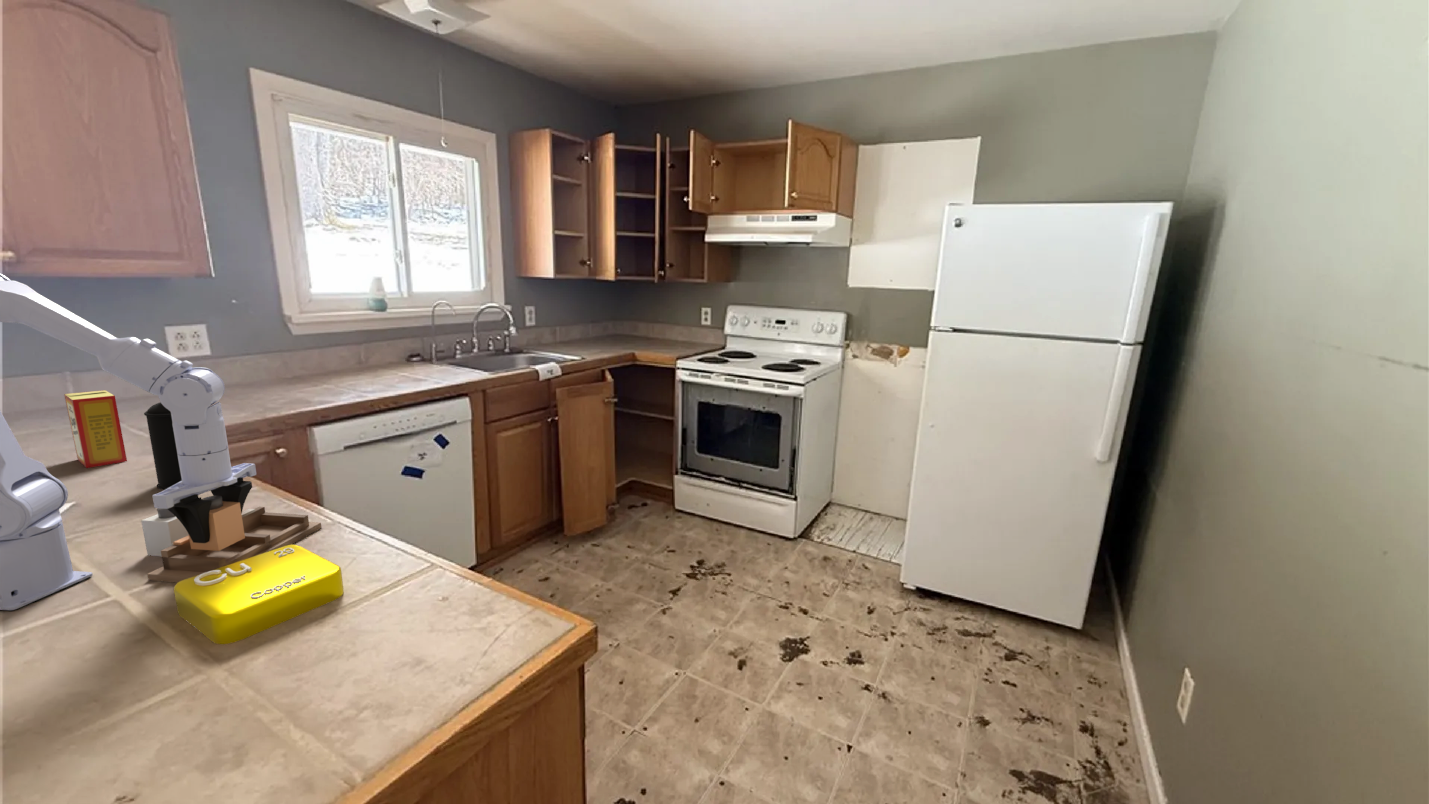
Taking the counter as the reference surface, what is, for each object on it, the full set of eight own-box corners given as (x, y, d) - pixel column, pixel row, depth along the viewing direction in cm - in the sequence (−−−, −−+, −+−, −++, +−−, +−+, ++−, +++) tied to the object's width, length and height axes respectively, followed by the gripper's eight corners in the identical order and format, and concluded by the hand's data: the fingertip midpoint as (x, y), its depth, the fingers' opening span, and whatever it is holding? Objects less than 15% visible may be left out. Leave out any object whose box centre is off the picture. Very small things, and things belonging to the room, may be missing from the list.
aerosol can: (147, 491, 116) (129, 394, 112) (172, 477, 124) (157, 387, 120) (195, 488, 118) (180, 394, 114) (217, 475, 126) (204, 386, 122)
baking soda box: (127, 461, 133) (114, 394, 130) (86, 468, 128) (72, 398, 124) (117, 453, 138) (104, 388, 135) (77, 459, 133) (63, 392, 130)
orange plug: (218, 550, 86) (211, 504, 85) (191, 549, 86) (183, 503, 85) (245, 537, 91) (238, 493, 89) (218, 536, 91) (211, 492, 89)
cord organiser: (218, 585, 83) (214, 557, 82) (148, 580, 84) (143, 552, 83) (321, 527, 102) (318, 504, 102) (263, 523, 103) (260, 500, 102)
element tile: (221, 651, 70) (215, 616, 69) (173, 612, 77) (166, 580, 76) (350, 596, 82) (346, 565, 81) (298, 567, 90) (294, 538, 89)
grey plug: (173, 557, 91) (166, 513, 89) (147, 555, 91) (139, 512, 89) (201, 544, 95) (194, 502, 93) (175, 542, 95) (168, 501, 94)
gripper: (180, 467, 78) (195, 558, 81) (269, 438, 92) (279, 517, 95) (132, 464, 79) (149, 555, 81) (228, 436, 93) (240, 514, 96)
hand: (216, 534), depth 88 cm, fingers closed on orange plug, 4 cm apart
